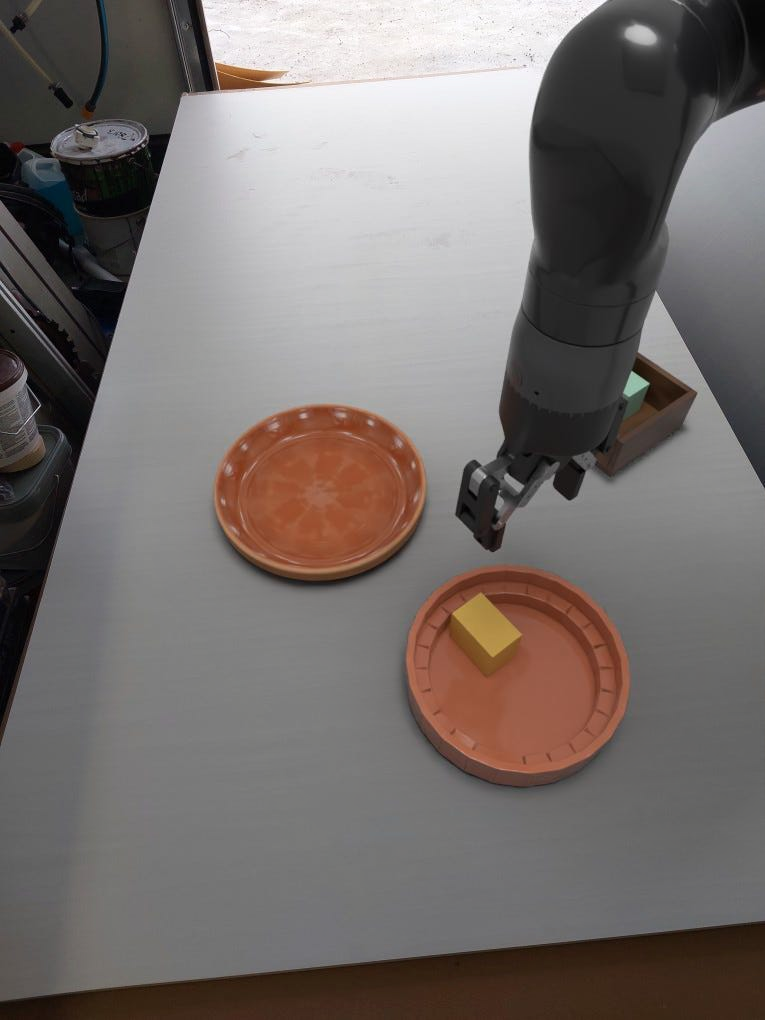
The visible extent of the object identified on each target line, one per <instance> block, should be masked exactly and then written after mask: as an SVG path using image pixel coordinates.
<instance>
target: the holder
mask: <svg viewBox="0 0 765 1020" xmlns="http://www.w3.org/2000/svg"><path fill="white" fill-rule="evenodd" d="M632 371H633V372H634V373H635V374H637V375H638V376H640V377H641V378H643V379H644V380H645V381H647V382H648V383H650V384H649V387H648V389H647V392H646V394H645V397H644V399H643V402H642V404H641V406H640V409H639V411H638V412H636V413H635V414H633V415H632V416H630V417H629V418H627V419H626V420H624V421H623V422H622V423H621V426H620V429H619V432H618V435H617V438H616V441H615V444H614V446H613V448H612V450H611V451H610V452H609V453H607V454H606V455H603V454H602V453H600V452H599V453H598V454H597V455H596V456H595V458H596V462H595V464H594V465H595V466H597V467H598V468H599V469H600V470H601V471H603V472H604V473H605V474H607V475H608V476H609V477H612V476H613V475H614V474H616V473H617V472H618V471H620V470H622V469H623V468H624V467H626V466H627V465H629V464H630V463H632V462H633V461H634V460H636V459H638V458H639V457H640V456H641V455H643V454H645V453H646V452H647V451H649V450H650V449H651V448H653V447H655V446H656V445H657V444H659V443H660V442H661V441H663V440H664V439H666V438H667V437H668V436H670V435H672V434H673V433H674V432H675V431H677V430H679V429H680V428H681V427H682V426H683V424H684V422H685V420H686V418H687V416H688V414H689V412H690V410H691V408H692V406H693V404H694V402H695V400H696V398H697V396H698V394H699V393H698V391H697V390H695V389H693V388H692V387H691V386H689V385H688V384H686V383H685V382H683V381H682V380H680V379H679V378H678V377H676V376H675V375H673V374H671V373H670V372H668V371H667V370H666V369H664V368H662V367H661V366H659V364H656V363H655V362H653V360H650V359H649V358H648V357H647V356H645V355H643V354H642V353H640V352H639V351H638V353H637V356H636V360H635V363H634V365H633V368H632Z"/></svg>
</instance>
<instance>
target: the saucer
mask: <svg viewBox="0 0 765 1020" xmlns="http://www.w3.org/2000/svg"><path fill="white" fill-rule="evenodd" d="M213 481H214V482H213V493H212V495H213V505H214V511H215V514H216V517H217V520H218V522H219V524H220V527H221V528H222V531H223V533H224V535H225V537H226V538H227V540H228V541H229V543H230V544H231V546H233V548H234V549H235V550H236V551H237V552H238V553H239V554H241V555H242V556H243V557H244V558H245V559H247V561H249V562H251V563H252V564H254V565H255V566H257V567H259V568H260V569H263V570H265V571H267V572H269V573H272V574H275V575H278V576H280V577H284V578H287V579H288V578H289V579H293V580H300V581H314V582H315V581H318V582H320V581H331V580H332V581H333V580H338V579H339V580H340V579H344V578H348V577H352V576H355V575H358V574H361V573H363V572H366V571H368V570H371V569H372V568H375V567H376V566H378V565H380V564H381V563H383V562H385V561H386V560H388V559H389V558H390V557H392V556H393V555H394V554H396V553H397V552H398V551H399V550H400V549H401V548H402V547H404V545H405V544H406V542H408V540H409V539H410V537H411V536H412V535H413V533H414V532H415V530H416V529H417V527H418V525H419V522H420V521H421V518H422V517H423V512H424V509H425V503H426V499H427V498H426V497H427V487H428V484H427V483H428V482H427V471H426V467H425V464H424V461H423V458H422V456H421V454H420V452H419V449H418V448H417V447H416V445H415V444H414V442H413V441H412V440H411V438H409V436H408V435H407V434H406V433H405V432H404V431H403V430H402V429H400V428H399V427H398V426H396V425H395V424H394V423H392V422H391V421H389V420H388V419H386V418H384V417H382V416H381V415H378V414H376V413H374V412H371V411H368V410H366V409H363V408H359V407H355V406H351V405H346V404H345V405H344V404H337V403H316V404H307V405H301V406H296V407H292V408H287V409H284V410H282V411H279V412H276V413H274V414H271V415H269V416H267V417H265V418H264V419H261V420H259V422H256V423H255V424H254V425H252V426H251V427H250V428H248V429H247V430H245V431H243V433H242V434H241V435H239V437H237V439H236V440H235V441H234V442H233V443H232V444H231V446H230V447H229V448H228V450H227V451H226V452H225V454H224V455H223V457H222V459H221V460H220V463H219V465H218V468H217V471H216V474H215V477H214V480H213Z"/></svg>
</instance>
